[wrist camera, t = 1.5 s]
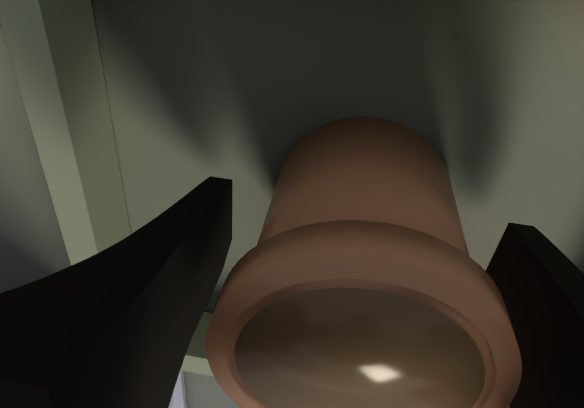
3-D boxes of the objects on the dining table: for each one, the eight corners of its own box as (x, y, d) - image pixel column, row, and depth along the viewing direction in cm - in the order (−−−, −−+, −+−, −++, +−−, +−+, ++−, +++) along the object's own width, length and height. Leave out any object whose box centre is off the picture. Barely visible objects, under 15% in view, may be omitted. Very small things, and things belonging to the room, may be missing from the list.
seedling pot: (261, 251, 15) (208, 425, 10) (270, 88, 12) (198, 235, 7) (433, 280, 15) (463, 474, 10) (495, 119, 11) (586, 298, 7)
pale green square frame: (121, 313, 18) (97, 354, 17) (19, -157, 9) (-54, -164, 8) (548, 388, 17) (566, 441, 16) (895, -65, 8) (1020, -50, 7)
